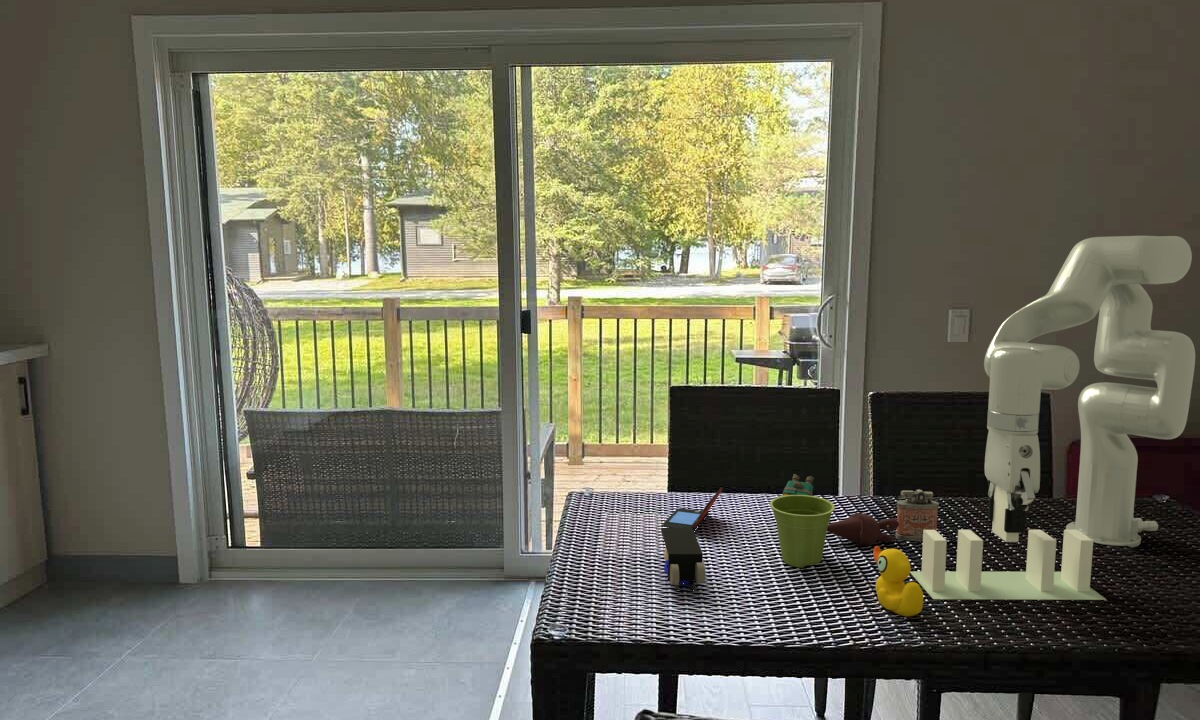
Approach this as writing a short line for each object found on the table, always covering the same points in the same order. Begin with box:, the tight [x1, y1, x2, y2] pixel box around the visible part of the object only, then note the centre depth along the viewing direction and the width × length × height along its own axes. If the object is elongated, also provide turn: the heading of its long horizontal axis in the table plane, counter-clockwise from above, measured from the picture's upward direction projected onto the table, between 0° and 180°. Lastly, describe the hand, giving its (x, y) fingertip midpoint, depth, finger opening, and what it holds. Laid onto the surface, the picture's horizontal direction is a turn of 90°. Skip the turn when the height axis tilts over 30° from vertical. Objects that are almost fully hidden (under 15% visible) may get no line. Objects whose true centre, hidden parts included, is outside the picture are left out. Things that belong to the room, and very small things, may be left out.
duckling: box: [873, 545, 924, 618], centre depth 122 cm, size 11×5×10 cm, turn 15°
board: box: [910, 570, 1107, 601], centre depth 130 cm, size 28×11×1 cm, turn 87°
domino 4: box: [1025, 529, 1057, 591], centre depth 129 cm, size 2×5×9 cm, turn 177°
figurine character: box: [660, 527, 706, 592], centre depth 136 cm, size 7×8×15 cm
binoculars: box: [781, 473, 814, 496], centre depth 165 cm, size 9×9×10 cm
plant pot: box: [769, 495, 836, 569], centre depth 142 cm, size 12×12×11 cm
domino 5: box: [1060, 529, 1094, 591], centre depth 128 cm, size 2×5×9 cm, turn 177°
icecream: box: [826, 511, 899, 547], centre depth 150 cm, size 7×8×15 cm
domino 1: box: [921, 530, 948, 591], centre depth 129 cm, size 2×5×9 cm, turn 178°
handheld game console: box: [661, 486, 723, 531], centre depth 164 cm, size 12×11×7 cm
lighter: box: [895, 488, 940, 542], centre depth 153 cm, size 8×3×10 cm, turn 84°
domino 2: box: [955, 529, 984, 591], centre depth 129 cm, size 2×5×9 cm, turn 177°
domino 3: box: [991, 484, 1022, 543], centre depth 128 cm, size 2×5×9 cm, turn 177°
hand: (1006, 525), depth 128 cm, fingers closed on domino 3, 4 cm apart
